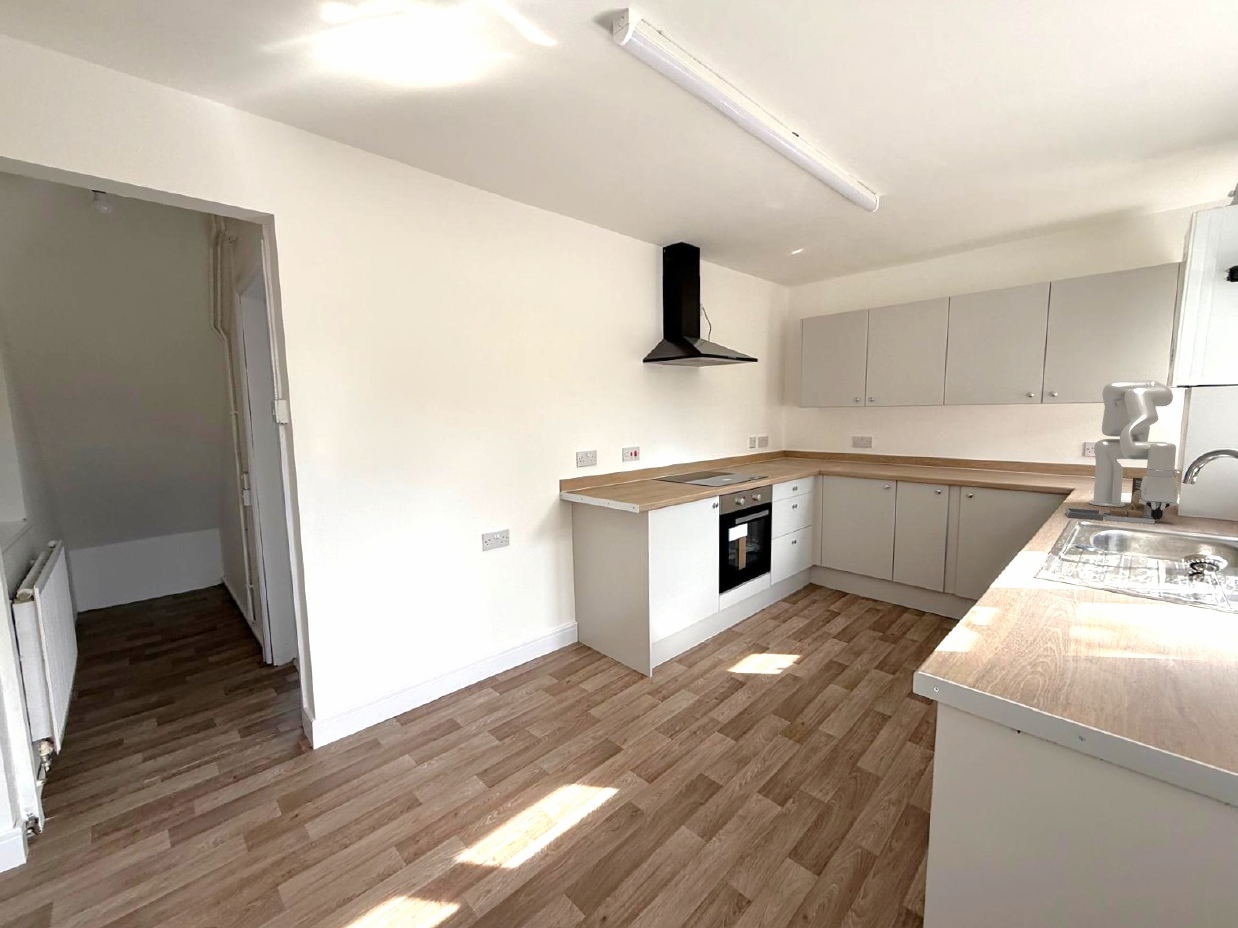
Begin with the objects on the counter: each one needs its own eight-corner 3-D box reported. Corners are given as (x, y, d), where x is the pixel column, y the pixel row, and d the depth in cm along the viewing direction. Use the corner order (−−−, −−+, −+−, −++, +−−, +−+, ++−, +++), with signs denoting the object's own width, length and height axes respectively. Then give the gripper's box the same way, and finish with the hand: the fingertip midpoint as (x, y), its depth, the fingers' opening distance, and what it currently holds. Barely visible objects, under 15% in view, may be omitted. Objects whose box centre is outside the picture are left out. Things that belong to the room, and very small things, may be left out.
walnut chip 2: (1126, 519, 210) (1126, 509, 209) (1139, 520, 207) (1140, 510, 207) (1128, 521, 207) (1128, 511, 206) (1142, 522, 204) (1142, 512, 204)
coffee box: (1128, 513, 220) (1131, 477, 219) (1146, 514, 219) (1149, 477, 218) (1146, 517, 211) (1149, 480, 210) (1164, 518, 210) (1167, 480, 209)
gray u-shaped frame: (1065, 513, 224) (1065, 507, 224) (1098, 515, 218) (1098, 510, 217) (1068, 517, 215) (1068, 512, 214) (1103, 520, 208) (1103, 514, 208)
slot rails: (1102, 516, 216) (1102, 512, 216) (1148, 519, 208) (1148, 515, 208) (1105, 520, 209) (1106, 515, 208) (1154, 523, 200) (1154, 519, 200)
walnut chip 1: (1109, 518, 213) (1110, 508, 212) (1122, 519, 210) (1123, 509, 210) (1111, 519, 210) (1112, 510, 209) (1124, 520, 207) (1125, 511, 207)
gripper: (1184, 473, 200) (1180, 519, 202) (1131, 472, 209) (1128, 515, 210) (1190, 475, 194) (1186, 522, 196) (1135, 473, 203) (1132, 518, 205)
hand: (1156, 518), depth 203 cm, fingers closed
